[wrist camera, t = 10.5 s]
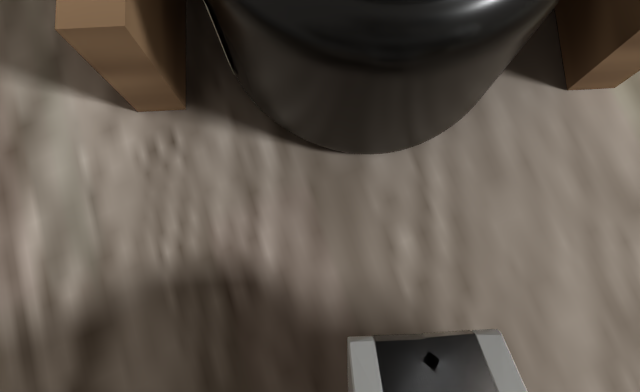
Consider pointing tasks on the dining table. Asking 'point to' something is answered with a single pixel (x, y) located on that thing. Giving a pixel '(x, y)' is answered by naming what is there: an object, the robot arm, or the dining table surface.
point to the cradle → (170, 45)
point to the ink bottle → (371, 63)
